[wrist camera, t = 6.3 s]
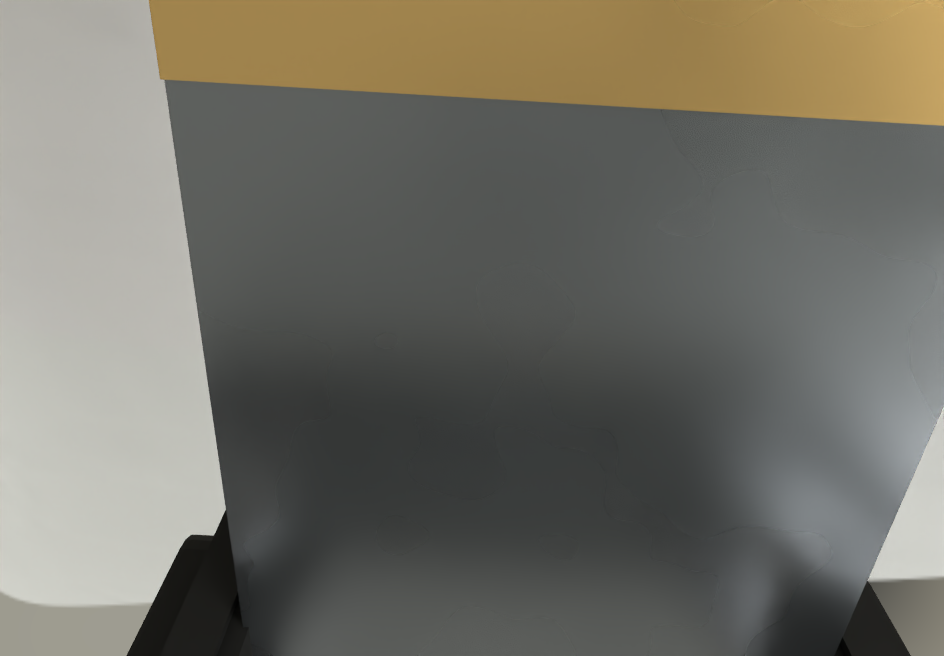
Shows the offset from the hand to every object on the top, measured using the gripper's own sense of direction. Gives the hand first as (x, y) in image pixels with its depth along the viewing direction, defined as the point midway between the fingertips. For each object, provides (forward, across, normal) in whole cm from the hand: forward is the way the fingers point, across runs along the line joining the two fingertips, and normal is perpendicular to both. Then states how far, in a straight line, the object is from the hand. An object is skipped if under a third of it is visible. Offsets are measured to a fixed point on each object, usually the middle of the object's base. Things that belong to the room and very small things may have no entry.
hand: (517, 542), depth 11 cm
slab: (+1, 0, 0) cm, 1 cm away
